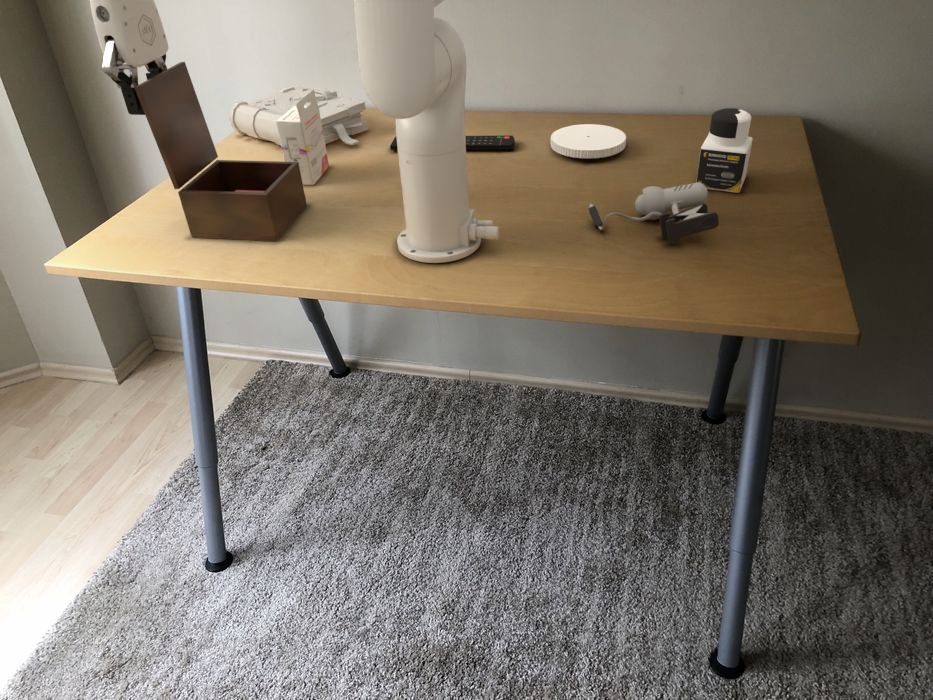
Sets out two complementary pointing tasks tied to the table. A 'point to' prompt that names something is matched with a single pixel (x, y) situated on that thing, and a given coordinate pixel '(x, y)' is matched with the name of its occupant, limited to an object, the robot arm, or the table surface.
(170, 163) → the lid
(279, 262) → the table surface
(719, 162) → the medicine bottle
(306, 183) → the ink cartridge box
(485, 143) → the remote control
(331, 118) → the book
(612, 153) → the plastic lid
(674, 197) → the clip-on lamp
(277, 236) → the chest
